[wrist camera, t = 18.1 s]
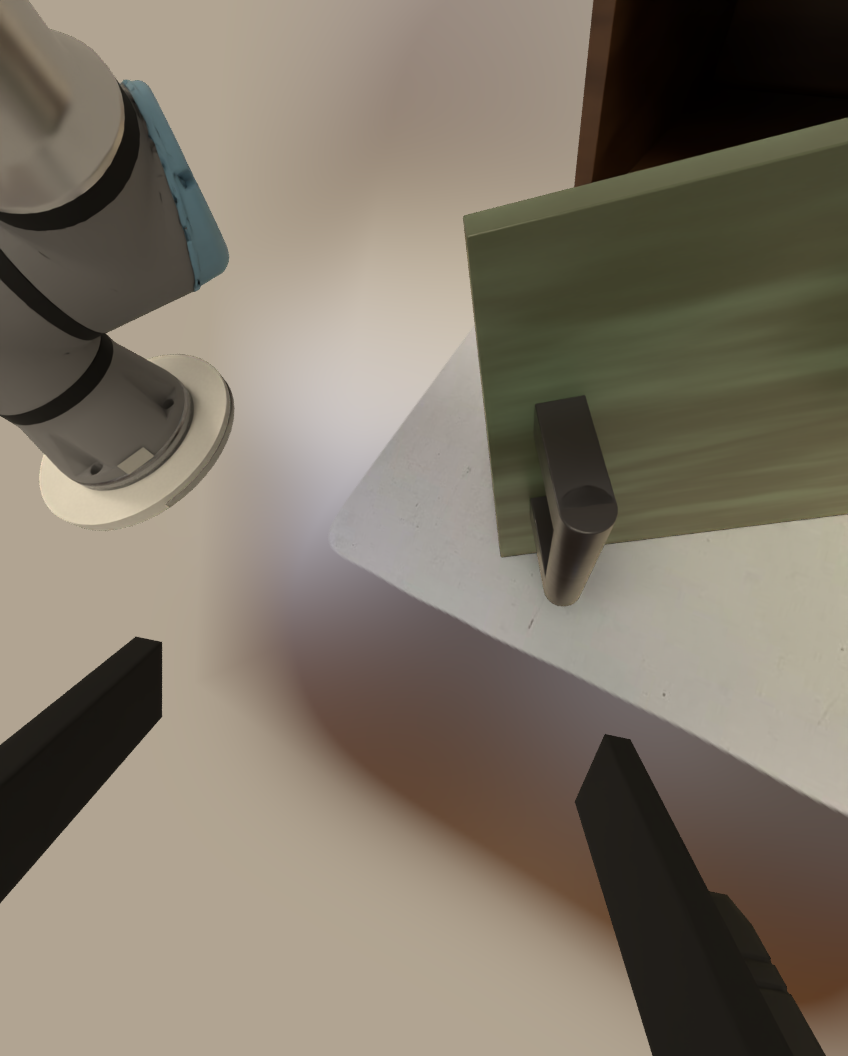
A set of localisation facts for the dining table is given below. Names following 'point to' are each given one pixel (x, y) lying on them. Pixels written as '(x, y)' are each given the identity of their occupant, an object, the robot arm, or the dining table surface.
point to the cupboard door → (666, 351)
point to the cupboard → (706, 78)
